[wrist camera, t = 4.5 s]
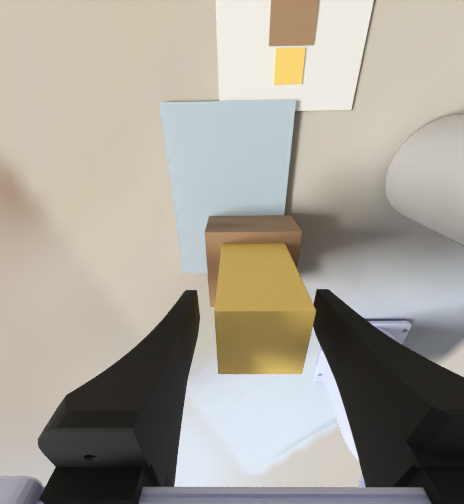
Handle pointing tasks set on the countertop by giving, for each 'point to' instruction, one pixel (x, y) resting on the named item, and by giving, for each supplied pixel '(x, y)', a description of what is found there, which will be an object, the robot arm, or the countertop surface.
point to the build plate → (225, 164)
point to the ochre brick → (261, 311)
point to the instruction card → (291, 51)
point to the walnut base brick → (247, 238)
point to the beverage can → (431, 177)
